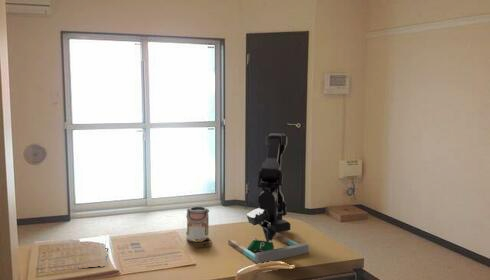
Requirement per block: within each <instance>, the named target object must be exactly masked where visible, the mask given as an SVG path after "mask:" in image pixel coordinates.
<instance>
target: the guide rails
mask: <svg viewBox="0 0 490 280" xmlns="http://www.w3.org/2000/svg"><path fill="white" fill-rule="evenodd" d="M273 238H276V239H277V240H279V241H281V242H283V243H284V244H286V245H288V241H289V240H292V239H290V237H287V236H285V235H283V234H281V233H280V232H276V233H275V235H274V237H273ZM227 241H228V242H227V243H228V245H230V246H231V247H233V248H234V249H236V250H237V251H238V252H239V253H241V254H243V249H247V248H246V247H245V246H243V245H242V244H241V243H239V242H237V241H236V240H234V239H228V240H227Z"/></svg>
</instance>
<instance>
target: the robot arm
mask: <svg viewBox="0 0 490 280" xmlns="http://www.w3.org/2000/svg"><path fill="white" fill-rule="evenodd" d="M265 145H267V152H266V160H265V161H264V162H262V164H261V168H260V169H259V172H258V182H257V188H261V192H260V194H259V196H258V198H257V199H258V201H257V202H258V208H256V209H253V210H250V212H248V213H246V218H247V221H248V223H249V224H252V226H257V225H258V226H260V227H261V228H262V231H263V235H264V237H265V241H267V242H269V240H271V241H272V242H273V239H274V238H275V237H274V235H275V233H276V232H277V233H281V232H287V231H290V230H291V227H292V226H291V225H292V224H291V223H290V222H289V221H287V220H285V219H283V217H285V216H287V214H288V213H287V212H288V211H287V209H288V208H287V203H286V201H285V196H284V194H283V193H282V190H281V186H283V180H284V179H283V178H284V177H283V176H284V174H283V172H282V155H283V154H284V152H285V150H286V146H288V136H287V135H285V133H271V132H270V133H269V134H267V135H265Z"/></svg>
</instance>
